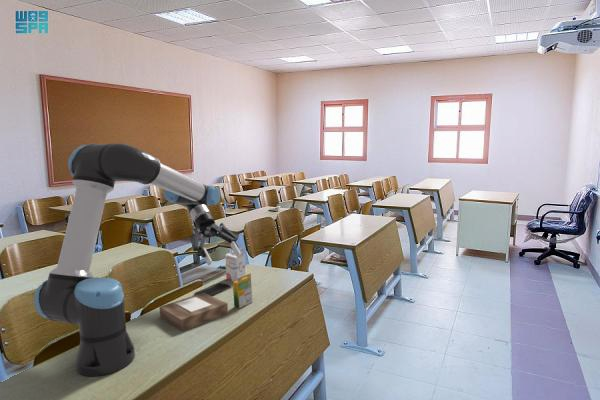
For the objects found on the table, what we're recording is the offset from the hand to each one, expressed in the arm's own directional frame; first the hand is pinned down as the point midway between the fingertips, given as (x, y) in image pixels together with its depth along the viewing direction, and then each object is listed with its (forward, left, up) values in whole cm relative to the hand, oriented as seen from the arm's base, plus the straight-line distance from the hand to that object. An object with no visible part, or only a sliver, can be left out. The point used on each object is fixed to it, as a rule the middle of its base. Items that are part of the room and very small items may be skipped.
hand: (225, 259), depth 156 cm
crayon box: (0, -11, -16) cm, 19 cm away
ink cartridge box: (+15, +15, -16) cm, 26 cm away
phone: (0, +10, -16) cm, 19 cm away
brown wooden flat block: (-18, -6, -16) cm, 25 cm away
